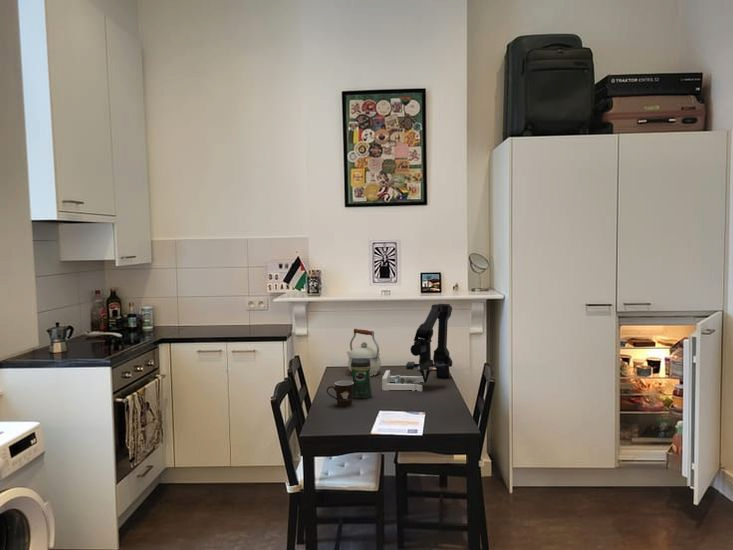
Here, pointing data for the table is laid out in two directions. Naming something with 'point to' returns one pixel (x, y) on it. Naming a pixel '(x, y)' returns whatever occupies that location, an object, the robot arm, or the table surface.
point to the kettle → (365, 352)
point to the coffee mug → (343, 392)
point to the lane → (388, 386)
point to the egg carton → (405, 381)
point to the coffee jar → (361, 377)
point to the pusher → (397, 379)
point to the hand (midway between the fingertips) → (425, 382)
